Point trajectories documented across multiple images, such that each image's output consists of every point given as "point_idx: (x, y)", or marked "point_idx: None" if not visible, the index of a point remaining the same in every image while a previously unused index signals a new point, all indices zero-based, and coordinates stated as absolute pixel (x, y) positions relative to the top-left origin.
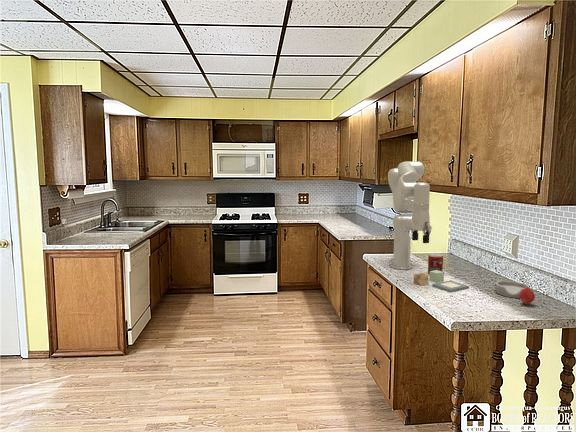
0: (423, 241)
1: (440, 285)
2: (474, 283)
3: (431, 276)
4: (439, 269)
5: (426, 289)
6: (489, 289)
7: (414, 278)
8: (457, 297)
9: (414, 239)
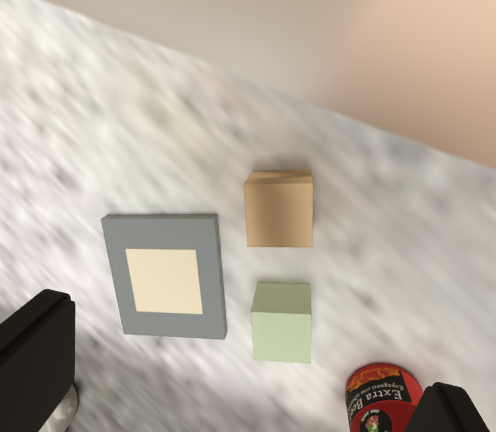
0: (24, 305)
1: (176, 235)
2: (177, 398)
3: (294, 297)
4: (350, 410)
5: (186, 146)
6: (94, 376)
7: (306, 176)
8: (39, 186)
9: (423, 417)
